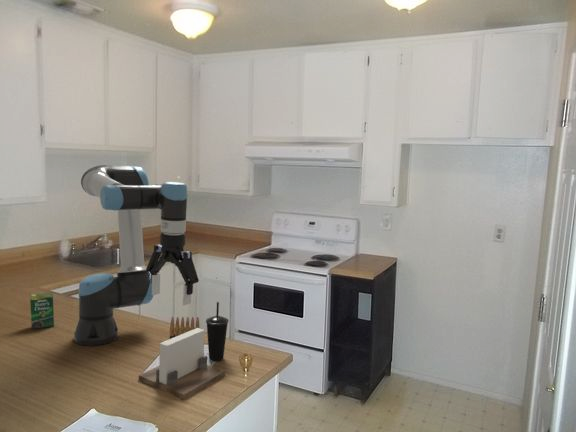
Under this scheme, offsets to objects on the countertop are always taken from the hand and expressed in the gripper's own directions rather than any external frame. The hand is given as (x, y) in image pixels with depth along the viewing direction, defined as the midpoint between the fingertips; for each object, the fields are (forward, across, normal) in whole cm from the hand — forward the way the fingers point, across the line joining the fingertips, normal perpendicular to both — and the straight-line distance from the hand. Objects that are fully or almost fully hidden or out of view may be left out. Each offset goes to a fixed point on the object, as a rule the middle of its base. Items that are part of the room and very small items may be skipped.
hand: (170, 299), depth 143 cm
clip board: (+24, +7, -1) cm, 25 cm away
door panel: (+22, +7, -1) cm, 23 cm away
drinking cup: (+24, +6, +16) cm, 30 cm away
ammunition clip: (+25, -8, +15) cm, 30 cm away
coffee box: (+26, -65, -3) cm, 70 cm away
